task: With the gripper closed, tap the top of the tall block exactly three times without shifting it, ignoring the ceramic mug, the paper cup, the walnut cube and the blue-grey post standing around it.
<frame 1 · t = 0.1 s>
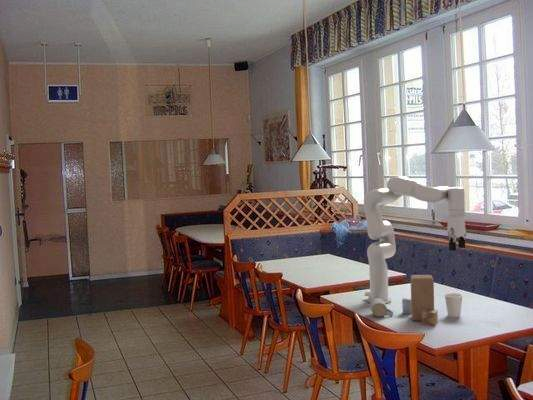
hand: (457, 248, 286), 31 cm above the table, tool pointing down, fingers open, 9 cm apart
ceramic mug: (381, 315, 291), on the table
walnut cube: (429, 324, 272), on the table
dixie cup: (454, 316, 284), on the table
block: (422, 319, 281), on the table
bluegrey post: (407, 313, 293), on the table
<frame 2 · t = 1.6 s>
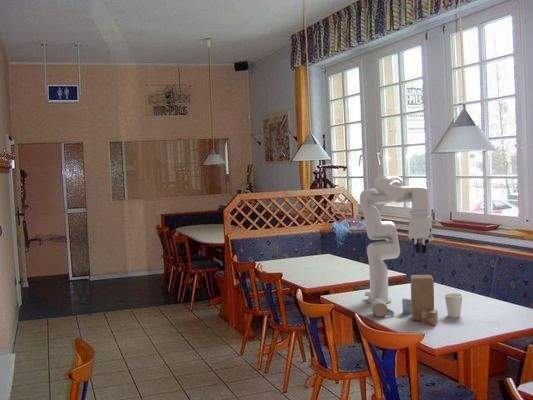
hand: (421, 252, 280), 31 cm above the table, tool pointing down, fingers closed
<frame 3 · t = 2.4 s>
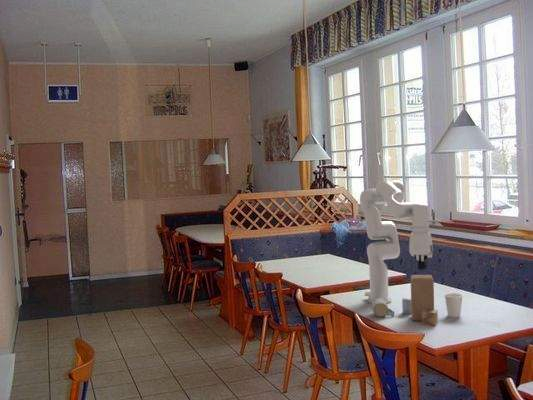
hand: (421, 269, 280), 23 cm above the table, tool pointing down, fingers closed
nothing on the table moved.
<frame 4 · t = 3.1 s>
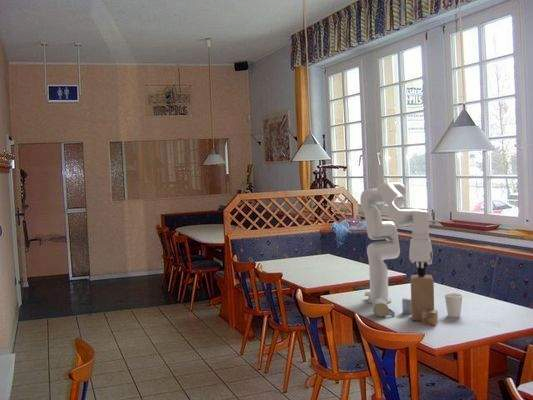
hand: (421, 275, 280), 20 cm above the table, tool pointing down, fingers closed
nothing on the table moved.
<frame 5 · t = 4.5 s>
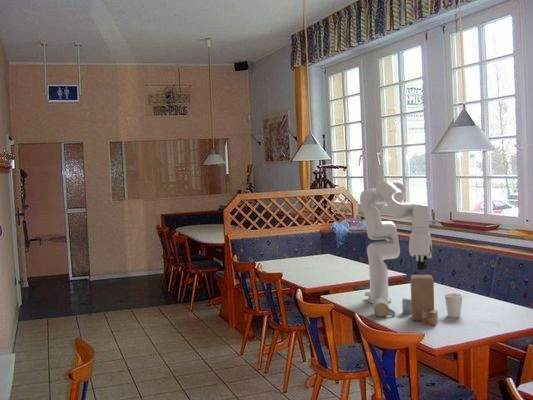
hand: (421, 269, 280), 23 cm above the table, tool pointing down, fingers closed
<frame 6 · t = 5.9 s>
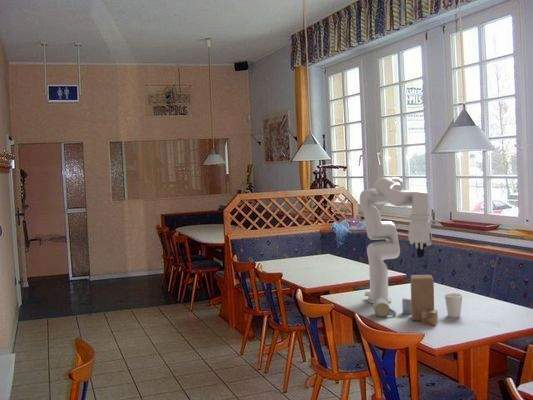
hand: (420, 257, 280), 29 cm above the table, tool pointing down, fingers closed
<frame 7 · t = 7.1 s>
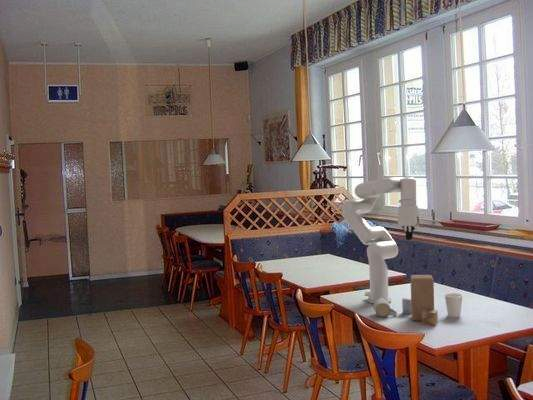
hand: (409, 239, 298), 35 cm above the table, tool pointing down, fingers closed
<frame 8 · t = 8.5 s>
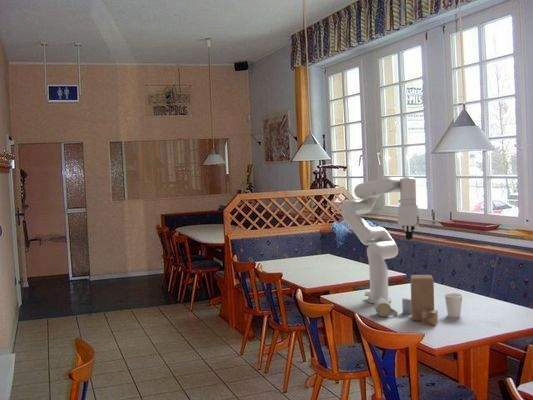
hand: (409, 239, 298), 35 cm above the table, tool pointing down, fingers closed
at the end: block moved 0.2 cm from its start; block tilted 0°; walnut cube moved 0.1 cm from its start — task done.
